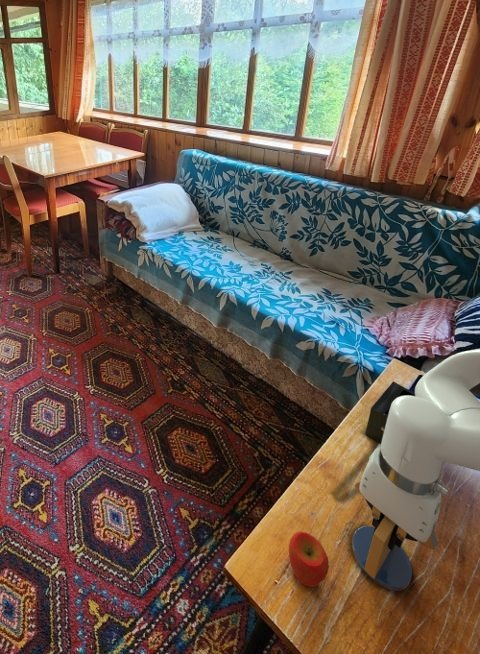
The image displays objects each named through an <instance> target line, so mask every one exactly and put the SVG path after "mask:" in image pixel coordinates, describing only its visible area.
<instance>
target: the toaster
mask: <svg viewBox="0 0 480 654" xmlns="http://www.w3.org/2000/svg"><path fill="white" fill-rule="evenodd" d="M405 395H410V396H415V391H412V390H410V389H408V388H406V387H405V386H403V385H401V384H400V383H397V382H396V381H392V382H391V383H390V384H389V385H388V386H387V388H386V389H385V390H384V391H383V392H382V394H381V395H380V396H379V397H378V399H376V401H375V402H374V404H373V405H372V406H371V407H370V411H369V416H368V420H367V424H366V429H365V433H364V434H365V436H366V437H368V438H369V439H371V440H373V441H374V442H376V443H377V445H379V444H381V442H382V438H383V434H384V430H385V426H386V422H387V418H388V414H389V410H390V407H391V404H392V402H393V401H394V400H395V399H396V398H398V397H400V396H405Z"/></svg>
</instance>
